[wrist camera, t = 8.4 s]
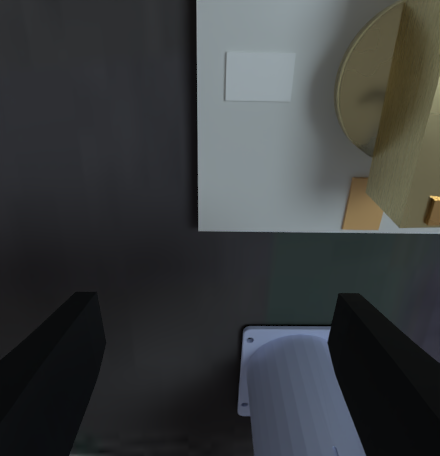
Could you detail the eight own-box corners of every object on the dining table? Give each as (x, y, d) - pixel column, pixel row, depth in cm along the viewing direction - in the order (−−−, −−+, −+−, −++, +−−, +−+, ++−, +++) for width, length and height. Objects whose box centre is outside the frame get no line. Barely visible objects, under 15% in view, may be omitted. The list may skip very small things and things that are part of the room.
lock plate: (499, 224, 21) (531, 245, 19) (199, 221, 21) (197, 242, 19) (665, -143, 14) (747, -176, 12) (196, -161, 13) (193, -197, 11)
